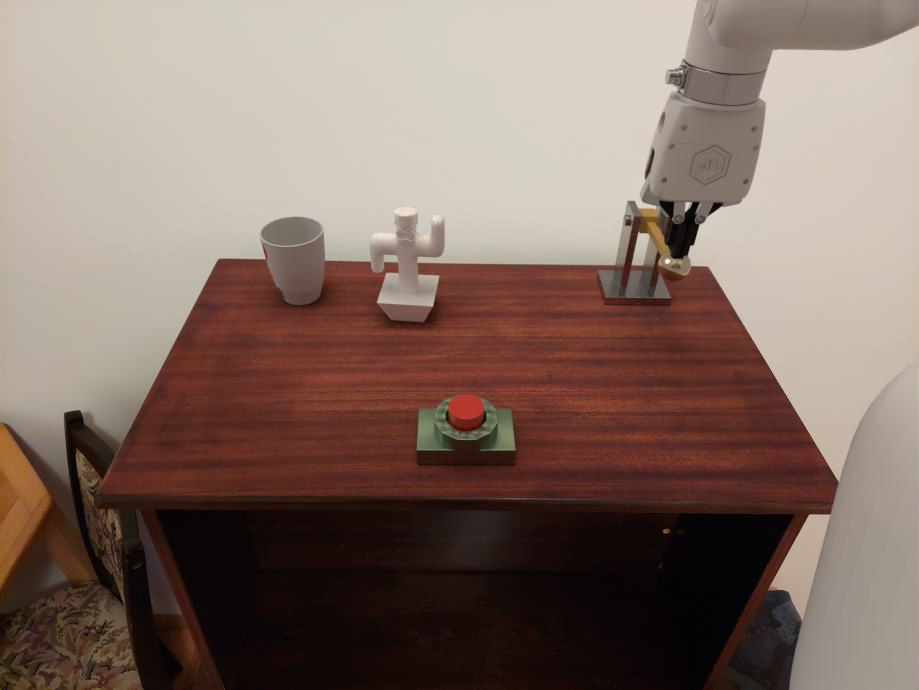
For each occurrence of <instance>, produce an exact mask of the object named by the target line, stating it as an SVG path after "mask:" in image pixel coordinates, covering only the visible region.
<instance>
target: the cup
mask: <svg viewBox="0 0 919 690" xmlns="http://www.w3.org/2000/svg"><path fill="white" fill-rule="evenodd" d="M258 235H259V239H260V243H261V246H262V250H263V253H264V257H265V262H266V265H267V267H268V270H269V272H270V276H271V278H272V280H273V282H274V285H275V287H276V288H277V290H278V292H279V293H280V295H281V297H282V298H283V300H284V302H286V303H287V304H289V305H292V306H306V305H310V304H313V303H314V302H316V301H317V300H318V299H319V298H320V296H321V294H322V293H321V292H322V290H323V289H322V288H323V284H324V279H325V268H326V267H325V266H326V265H325V264H326V246H325V232H324V225H323V224H322V223H321V222H320V221H319V220H317V219H315V218H312V217H309V216H300V215H295V216H293V215H292V216H285V217H284V216H283V217H280V218H277V219H273V220H271V221H269V222H267V223H265V225H263V226H262V227H261V228H260V230H259V234H258Z"/></svg>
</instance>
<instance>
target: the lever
mask: <svg viewBox="0 0 919 690" xmlns="http://www.w3.org/2000/svg"><path fill="white" fill-rule="evenodd" d="M638 209H639V211H640V213H641V215H642V218H641V223H640V228H639V232H638V234H646V235H647V234H648V236H649V237H650V238H651V240H652V241H653V243H654V245H655V246H656V248H657V250H658V252H659V253H660V255H661V258H660V259H659V262H658V271H659V273H660V275H661V276H662V278H663V280H666V281H669V282H679V281H682V280H685V278H686V277H687V276H688V275H689V273H690V271H691V268H692V262H691V259H690V257H689V255H688V256H682V255H678V256H672V254H671V252H670V250H669V247H668V245H665V242H664V236H663V235H662V233H661V231H660V230H659V228H658V223H659V218H660V216H659V215H658V213H657V212H656V208H643V207H641V208H640V207H638Z"/></svg>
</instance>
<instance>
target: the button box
mask: <svg viewBox="0 0 919 690" xmlns="http://www.w3.org/2000/svg"><path fill="white" fill-rule="evenodd" d="M459 395H460V394H456V395H453V396H450V397H448V398H446V399H443V400H441V402H440V403H439V404H438V405H437V406H436V408H432V407H431V408H430V407H428V408H427V407H426V408H424V407H423V408H421V407H420V408H418V414H417V430H416V431H417V432H416V433H417V434H416V437H417V438H416V449H415V450H416V465H515V462H516V453H517V447H516V438H515V428H514V418H513V410H512V408H496V407H495V406H494V405H493V404H492V403H491V402H490V401H489V400H488V399H485V398H483V397H480V396H479V395H475V394H472V395H473V396H475V397H477V398H479V399H480V400H481V401H482V402H483V404H484V419H483V423H482V425H481V426H480V427H479V428H477V429H476V430H473V431H460V430H457V429H455V428H454V427H452V426H451V424H450V423H449V419H448V407H449V403H450V401H451V400H452V399H453V398H455V397H457V396H459Z"/></svg>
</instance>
